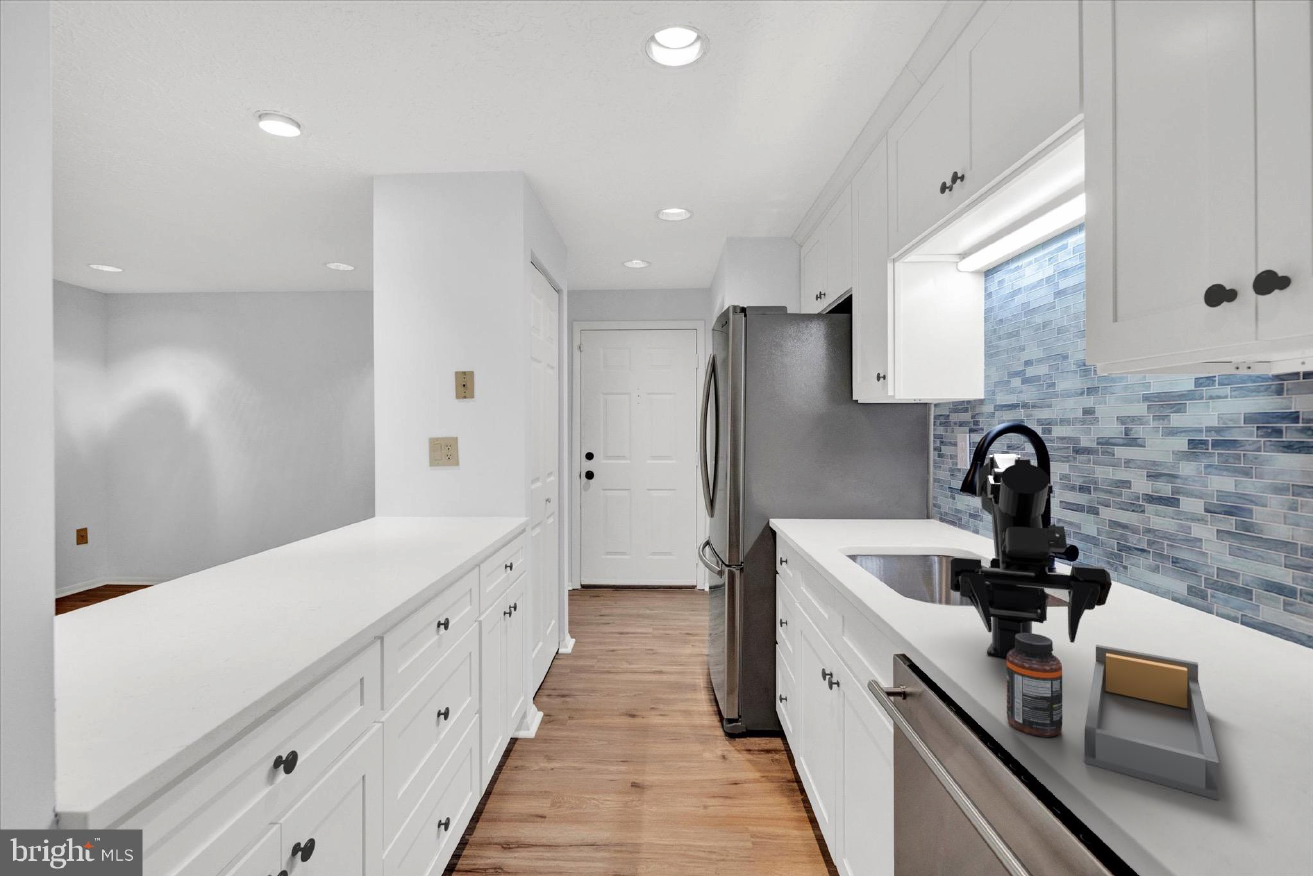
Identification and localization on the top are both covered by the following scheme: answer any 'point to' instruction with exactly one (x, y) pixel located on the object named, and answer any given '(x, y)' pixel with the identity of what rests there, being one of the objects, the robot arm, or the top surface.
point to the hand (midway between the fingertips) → (1030, 635)
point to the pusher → (1146, 680)
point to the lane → (1151, 732)
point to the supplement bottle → (1034, 686)
